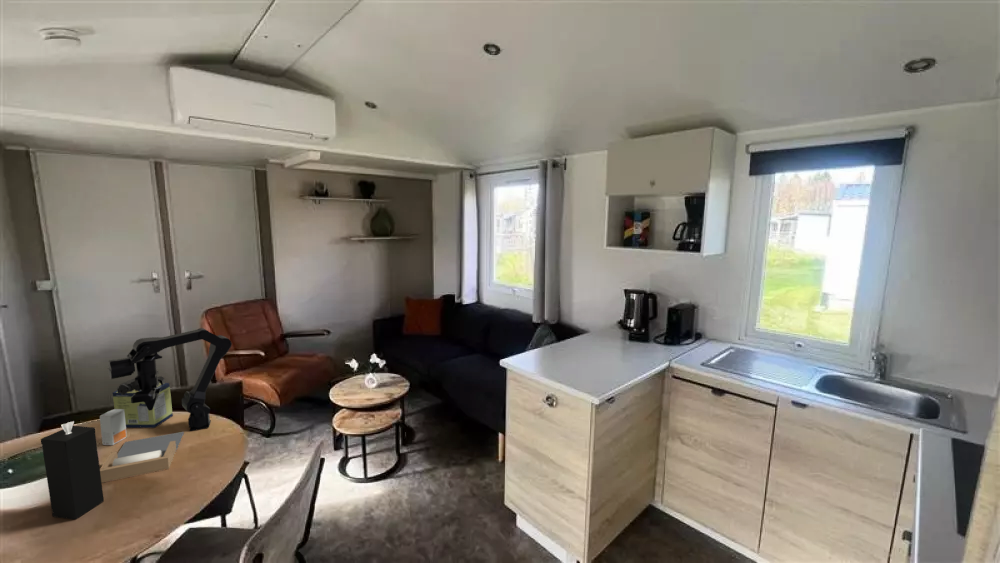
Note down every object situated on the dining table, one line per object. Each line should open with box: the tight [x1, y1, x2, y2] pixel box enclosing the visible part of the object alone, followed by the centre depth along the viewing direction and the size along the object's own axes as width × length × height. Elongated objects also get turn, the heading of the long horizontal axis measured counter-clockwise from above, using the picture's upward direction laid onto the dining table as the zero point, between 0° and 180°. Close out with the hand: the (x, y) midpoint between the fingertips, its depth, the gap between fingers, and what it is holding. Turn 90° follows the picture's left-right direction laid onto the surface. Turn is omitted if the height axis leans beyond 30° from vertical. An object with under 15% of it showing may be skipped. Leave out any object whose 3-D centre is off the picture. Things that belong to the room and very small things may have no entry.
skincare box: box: [99, 409, 128, 446], centre depth 157 cm, size 6×4×12 cm
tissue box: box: [40, 420, 105, 520], centre depth 120 cm, size 8×8×28 cm
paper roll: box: [113, 450, 162, 466], centre depth 141 cm, size 12×5×5 cm, turn 119°
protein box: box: [112, 382, 174, 429], centre depth 171 cm, size 10×16×16 cm
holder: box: [100, 431, 185, 484], centre depth 149 cm, size 18×26×4 cm
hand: (150, 409), depth 156 cm, fingers closed
